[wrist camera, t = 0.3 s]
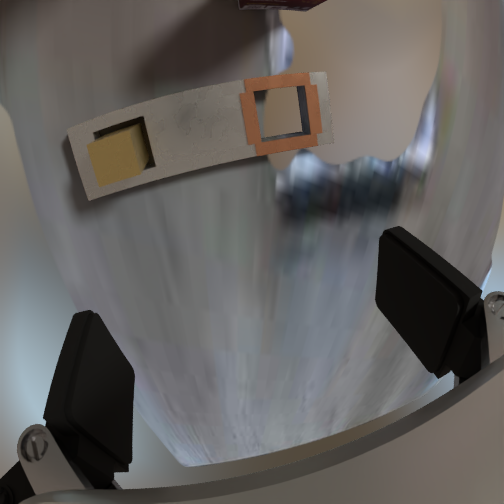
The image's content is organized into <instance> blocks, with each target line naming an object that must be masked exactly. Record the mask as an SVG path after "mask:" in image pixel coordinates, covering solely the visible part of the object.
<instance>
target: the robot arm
mask: <svg viewBox="0 0 504 504" xmlns="http://www.w3.org/2000/svg"><path fill="white" fill-rule="evenodd" d="M481 294H482V290H481V289H480V288H479V287H477V286H476V285H475V284H474V283H473V282H472V281H470V280H469V279H468V278H467V277H466V276H464V275H463V274H462V273H461V272H460V271H458V270H457V269H456V268H455V267H453V266H452V265H451V264H450V263H449V262H447V261H446V260H445V259H443V258H442V257H441V256H440V255H438V254H437V253H436V252H435V251H433V250H432V249H431V248H429V247H428V246H427V245H425V244H424V243H423V242H421V241H420V240H419V239H417V238H416V237H415V236H413V235H412V234H411V233H409V232H408V231H406V230H405V229H404V228H402V227H400V226H397V227H393V228H390V229H387V230H384V231H383V234H382V236H380V238H379V254H378V271H377V284H376V296H375V301H376V305H377V307H378V308H379V310H380V311H381V312H382V313H383V314H384V316H385V317H386V318H387V319H388V321H389V322H390V323H391V324H392V326H393V327H394V328H395V329H396V331H397V332H398V333H399V334H400V336H401V337H402V338H403V339H404V341H405V342H406V343H407V344H408V346H409V347H410V348H411V350H412V351H413V352H414V353H415V355H416V356H417V357H418V359H419V360H420V361H421V363H422V364H423V365H424V366H425V368H426V369H427V370H428V371H429V372H430V373H434V374H435V376H436V377H437V378H438V379H439V378H441V377H442V376H444V375H446V374H447V373H449V372H450V371H452V372H453V373H454V374H455V375H454V388H453V389H452V390H450V391H449V392H447V393H446V394H444V395H442V396H441V397H439V398H438V399H436V400H434V401H433V402H431V403H429V404H427V405H426V406H424V407H422V408H420V409H419V410H417V411H415V412H413V413H411V414H409V415H408V416H405V417H404V418H402V419H400V420H398V421H396V422H394V423H392V424H390V425H388V426H386V427H384V428H381V429H379V430H377V431H375V432H373V433H371V434H368V435H366V436H364V437H361V438H359V439H357V440H354V441H353V442H350V443H347V444H345V445H342V446H339V447H337V448H334V449H332V450H329V451H326V452H323V453H321V454H318V455H315V456H312V457H309V458H306V459H303V460H300V461H296V462H293V463H290V464H287V465H283V466H279V467H276V468H272V469H268V470H264V471H261V472H256V473H252V474H247V475H243V476H238V477H234V478H228V479H223V480H217V481H211V482H205V483H198V484H190V485H182V486H173V487H161V488H145V489H122V488H121V487H120V485H118V483H117V482H116V481H115V480H114V472H129V464H130V463H131V462H132V430H133V400H134V382H135V374H134V370H133V368H132V366H131V364H130V363H129V361H128V360H127V359H126V357H125V356H124V354H123V353H122V351H121V350H120V348H119V346H118V345H117V343H116V342H115V340H114V339H113V337H112V335H111V334H110V332H109V331H108V329H107V327H106V326H105V324H104V322H103V321H102V319H101V317H100V316H99V314H97V313H94V312H93V311H91V310H87V311H83V312H79V313H75V314H74V316H73V318H72V321H71V323H70V326H69V329H68V332H67V335H66V338H65V341H64V344H63V347H62V350H61V353H60V356H59V359H58V362H57V366H56V369H55V373H54V376H53V380H52V383H51V387H50V391H49V395H48V399H47V403H46V407H45V411H44V415H43V419H45V420H46V426H43V425H40V424H35V425H31V426H30V427H28V428H26V430H25V431H24V432H23V433H22V434H21V436H20V438H19V441H18V444H17V453H18V457H19V461H18V462H17V463H16V464H15V465H14V466H13V467H12V468H11V469H10V470H9V471H8V472H7V473H6V474H5V475H4V476H3V477H2V478H1V479H0V504H504V292H500V291H498V292H497V291H496V292H492V293H489V294H488V295H487V296H486V297H485V299H484V300H483V299H481V298H480V297H481Z"/></svg>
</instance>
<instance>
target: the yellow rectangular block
mask: <svg viewBox="0 0 504 504" xmlns="http://www.w3.org/2000/svg"><path fill="white" fill-rule="evenodd" d="M86 146H87V149H88V153H89V156H90V160H91V163H92V166H93V169H94V173H95V176H96V179H97V182H98V185H99V187H102V186H105V185H108V184H111V183H114V182H118V181H121V180H124V179H127V178H130V177H134V176H137V175H140V174H141V173H142V172H143V170H144V168H145V166H146V164H147V162H148V160H149V158H150V156H149V152H148V148H147V144H146V140H145V136H144V132H143V128H142V124H141V123H138V124H135V125H132V126H129V127H126V128H123V129H119V130H116V131H114V132H111V133H108V134H105V135H103V136H102V137H100V138H98V139H96V140H94V141H92V142H91V143H89V144H87V145H86Z"/></svg>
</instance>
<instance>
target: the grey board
mask: <svg viewBox="0 0 504 504" xmlns="http://www.w3.org/2000/svg"><path fill="white" fill-rule="evenodd" d="M291 86H297V92H298V100H299V107H300V115H301V123H302V131H303V132H296V133H290V134H283V135H277V136H272V137H266V138H261V135H260V129H259V123H258V117H257V111H256V105H255V99H254V93H253V91H259V90H266V89H273V88H282V87H291ZM328 91H329V90H328V83H327V75H326V72H311V73H297V74H285V75H275V76H266V77H259V78H251V79H244V80H238V81H232V82H226V83H221V84H215V85H210V86H205V87H200V88H196V89H191V90H187V91H183V92H178V93H174V94H170V95H167V96H163V97H159V98H155V99H152V100H148V101H145V102H141V103H138V104H135V105H132V106H128V107H125V108H122V109H119V110H116V111H113V112H110V113H108V114H105V115H102V116H99V117H96V118H94V119H91V120H89V121H86V122H83V123H81V124H78V125H76V126H73V127H71V128H69V129H67V133H68V136H69V140H70V144H71V147H72V151H73V154H74V158H75V161H76V164H77V167H78V171H79V174H80V177H81V180H82V183H83V186H84V189H85V192H86V195H87V198H88V200H89V201H90V200H93V199H96V198H99V197H102V196H105V195H108V194H111V193H114V192H118V191H121V190H124V189H127V188H131V187H134V186H137V185H141V184H144V183H148V182H151V181H155V180H158V179H162V178H165V177H169V176H173V175H177V174H180V173H184V172H188V171H192V170H196V169H200V168H204V167H209V166H213V165H217V164H222V163H226V162H231V161H235V160H240V159H245V158H250V157H254V156H262V155H267V154H272V153H278V152H283V151H289V150H294V149H301V148H307V147H313V146H318V145H324V144H331V143H334V138H333V127H332V117H331V108H330V99H329V92H328ZM140 116H144V120H145V124H146V129H147V133H148V137H149V141H150V145H151V149H152V153H153V157H154V160H155V163H153V164H149V165H146V166H145V168H144V170H143V172H142V173H141V174H140V175H137V176H134V177H130V178H127V179H124V180H121V181H118V182H114V183H111V184H108V185H105V186H102V187H99V185H98V182H97V179H96V176H95V173H94V169H93V166H92V163H91V160H90V156H89V153H88V149H87V146H86V145H87V144H89V143H91V142H92V141H94V140H96V139H98V138H100V133H99V130H101V129H104V128H107V127H110V126H112V125H115V124H118V123H121V122H124V121H128V120H131V119H134V118H137V117H140Z"/></svg>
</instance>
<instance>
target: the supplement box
mask: <svg viewBox="0 0 504 504" xmlns="http://www.w3.org/2000/svg"><path fill="white" fill-rule="evenodd" d="M325 1H327V0H238V6H239V10H247V9H280V10H295V11H308V10H309V9H311V8H313V7H315V6H317V5H319V4H321V3H323V2H325Z"/></svg>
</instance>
